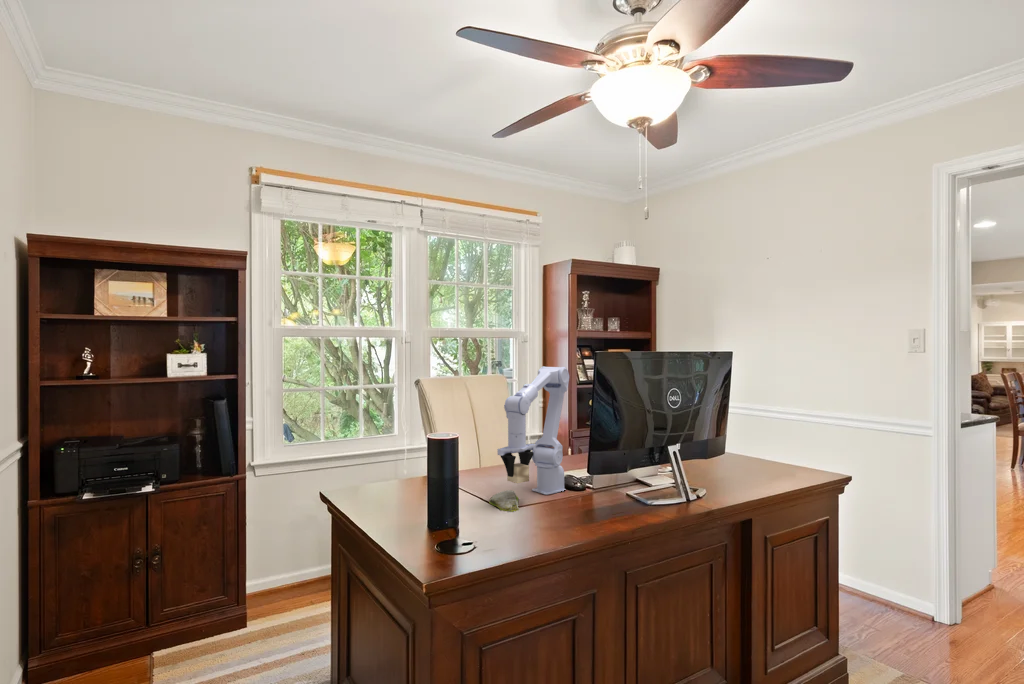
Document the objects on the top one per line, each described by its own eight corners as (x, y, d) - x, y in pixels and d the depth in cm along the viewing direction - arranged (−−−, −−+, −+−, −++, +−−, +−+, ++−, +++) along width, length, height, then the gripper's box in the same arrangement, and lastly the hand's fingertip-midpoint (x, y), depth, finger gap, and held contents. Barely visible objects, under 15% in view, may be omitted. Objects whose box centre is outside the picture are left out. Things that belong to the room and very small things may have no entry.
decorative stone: (486, 494, 197) (486, 483, 197) (515, 493, 198) (515, 482, 198) (488, 513, 174) (488, 501, 174) (521, 512, 175) (521, 499, 175)
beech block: (519, 478, 186) (519, 463, 186) (529, 481, 182) (529, 465, 182) (507, 480, 183) (507, 465, 183) (517, 483, 179) (517, 467, 179)
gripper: (507, 437, 175) (507, 480, 175) (541, 432, 184) (542, 473, 184) (493, 434, 181) (493, 476, 181) (527, 429, 190) (527, 470, 190)
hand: (517, 475), depth 183 cm, fingers closed on beech block, 5 cm apart
